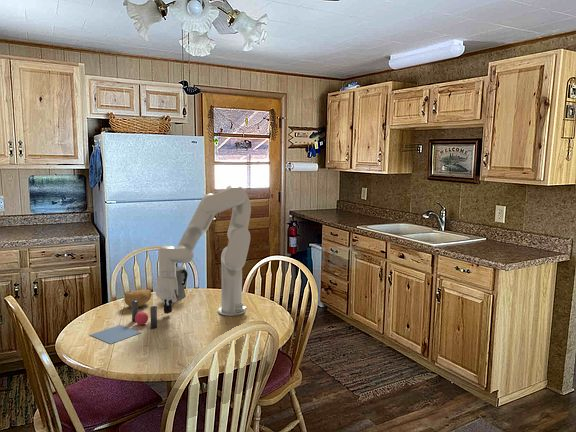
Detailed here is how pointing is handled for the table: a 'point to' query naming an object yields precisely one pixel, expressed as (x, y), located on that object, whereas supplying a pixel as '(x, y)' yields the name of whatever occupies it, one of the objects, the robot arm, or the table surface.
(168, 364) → the table surface
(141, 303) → the potato
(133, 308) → the post
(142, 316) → the ball
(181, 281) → the coffeepot
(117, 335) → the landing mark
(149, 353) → the table surface
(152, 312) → the post
